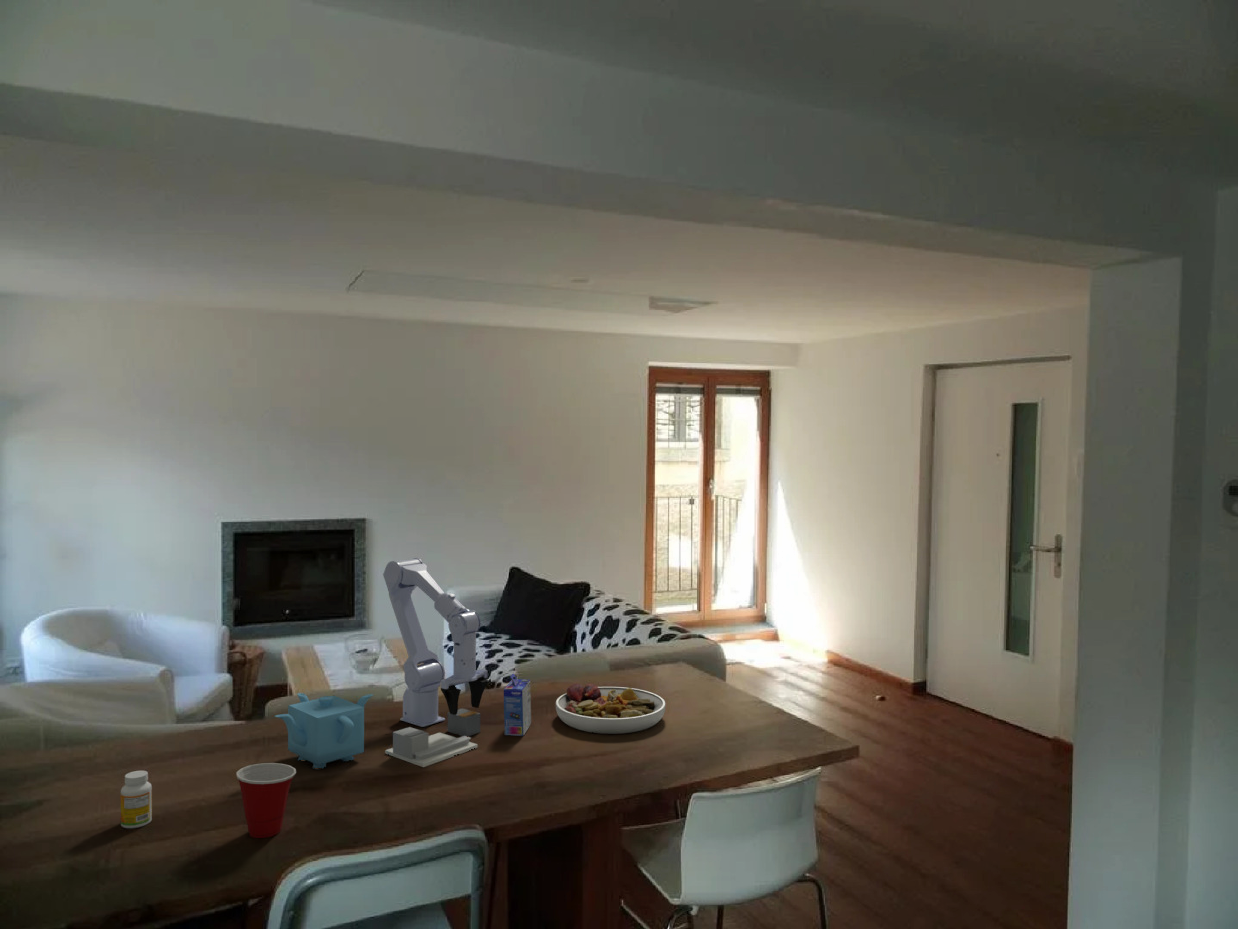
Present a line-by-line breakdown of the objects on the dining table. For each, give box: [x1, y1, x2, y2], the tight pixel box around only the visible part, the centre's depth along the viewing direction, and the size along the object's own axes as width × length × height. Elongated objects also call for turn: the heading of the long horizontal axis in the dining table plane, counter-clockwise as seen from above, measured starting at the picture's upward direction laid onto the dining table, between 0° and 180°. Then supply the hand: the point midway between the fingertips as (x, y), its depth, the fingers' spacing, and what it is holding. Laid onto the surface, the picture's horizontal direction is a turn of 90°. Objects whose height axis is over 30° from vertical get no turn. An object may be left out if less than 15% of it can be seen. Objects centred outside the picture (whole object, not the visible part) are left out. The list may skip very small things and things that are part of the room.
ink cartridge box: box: [503, 673, 532, 737], centre depth 232 cm, size 10×6×14 cm, turn 174°
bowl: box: [555, 683, 666, 735], centre depth 242 cm, size 30×30×8 cm
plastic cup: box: [236, 762, 297, 839], centre depth 171 cm, size 11×11×12 cm
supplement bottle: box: [120, 770, 153, 829], centre depth 174 cm, size 5×5×10 cm
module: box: [446, 707, 481, 737], centre depth 230 cm, size 7×5×5 cm
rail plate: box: [384, 726, 478, 768], centre depth 216 cm, size 14×17×6 cm
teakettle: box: [274, 692, 374, 769], centre depth 210 cm, size 19×19×15 cm
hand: (464, 710), depth 230 cm, fingers open, 7 cm apart
